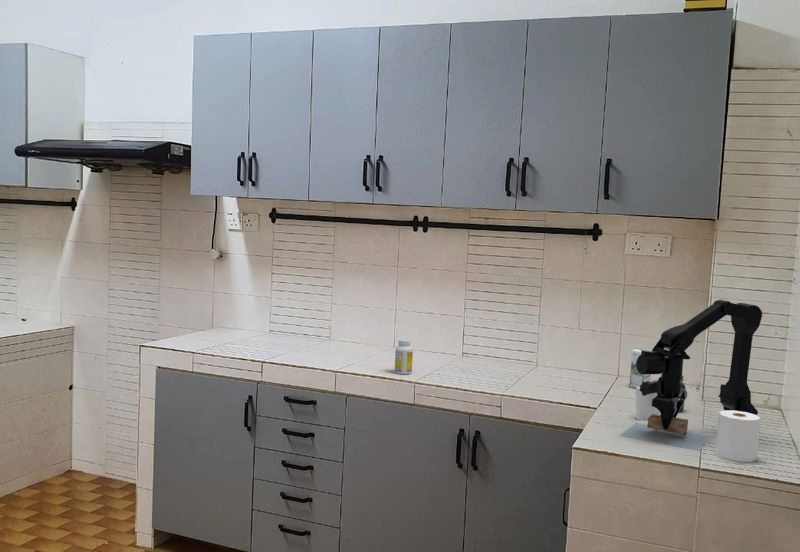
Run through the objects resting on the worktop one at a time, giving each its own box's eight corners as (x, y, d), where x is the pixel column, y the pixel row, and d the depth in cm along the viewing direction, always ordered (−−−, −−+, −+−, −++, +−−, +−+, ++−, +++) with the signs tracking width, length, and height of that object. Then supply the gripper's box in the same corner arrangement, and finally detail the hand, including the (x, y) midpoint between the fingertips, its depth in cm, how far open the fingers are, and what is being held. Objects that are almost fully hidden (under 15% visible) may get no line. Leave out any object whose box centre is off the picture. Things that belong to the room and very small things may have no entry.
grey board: (711, 438, 232) (711, 429, 232) (699, 453, 217) (700, 443, 216) (635, 425, 243) (636, 416, 243) (619, 438, 228) (620, 428, 228)
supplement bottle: (411, 371, 308) (413, 339, 307) (412, 375, 301) (413, 342, 300) (394, 371, 308) (395, 338, 307) (394, 374, 301) (396, 341, 300)
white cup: (639, 414, 257) (642, 384, 256) (663, 419, 252) (666, 388, 251) (630, 419, 251) (632, 388, 250) (654, 424, 246) (656, 392, 245)
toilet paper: (708, 452, 218) (712, 409, 217) (745, 453, 219) (748, 410, 218) (725, 464, 208) (729, 419, 207) (763, 465, 209) (767, 420, 208)
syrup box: (650, 388, 298) (653, 350, 297) (643, 390, 294) (645, 352, 292) (636, 385, 302) (638, 348, 301) (628, 387, 298) (631, 349, 296)
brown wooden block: (687, 429, 231) (688, 419, 231) (683, 434, 226) (683, 423, 225) (652, 423, 236) (653, 413, 236) (647, 427, 231) (648, 417, 231)
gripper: (651, 365, 242) (647, 415, 243) (635, 375, 226) (631, 428, 227) (689, 370, 236) (685, 421, 237) (675, 380, 220) (671, 435, 221)
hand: (667, 426), depth 231 cm, fingers closed on brown wooden block, 6 cm apart
